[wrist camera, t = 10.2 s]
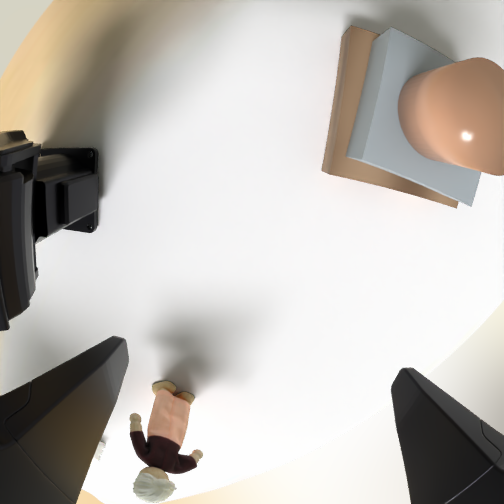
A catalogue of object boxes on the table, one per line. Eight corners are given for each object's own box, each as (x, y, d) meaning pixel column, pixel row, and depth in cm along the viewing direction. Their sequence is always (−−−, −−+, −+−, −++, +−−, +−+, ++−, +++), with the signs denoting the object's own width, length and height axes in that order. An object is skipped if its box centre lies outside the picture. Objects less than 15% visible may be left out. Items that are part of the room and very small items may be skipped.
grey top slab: (345, 156, 16) (361, 159, 13) (372, 41, 13) (391, 26, 10) (446, 196, 17) (471, 206, 14) (468, 93, 14) (495, 91, 11)
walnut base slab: (319, 169, 19) (329, 174, 16) (339, 39, 16) (350, 25, 13) (436, 199, 20) (456, 208, 17) (453, 83, 16) (474, 79, 13)
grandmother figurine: (139, 389, 27) (100, 487, 15) (150, 369, 26) (106, 478, 14) (203, 418, 28) (185, 518, 16) (219, 402, 27) (203, 512, 15)
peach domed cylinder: (391, 147, 13) (445, 154, 8) (401, 60, 11) (454, 36, 6) (461, 171, 13) (519, 189, 8) (471, 93, 11) (528, 89, 7)
